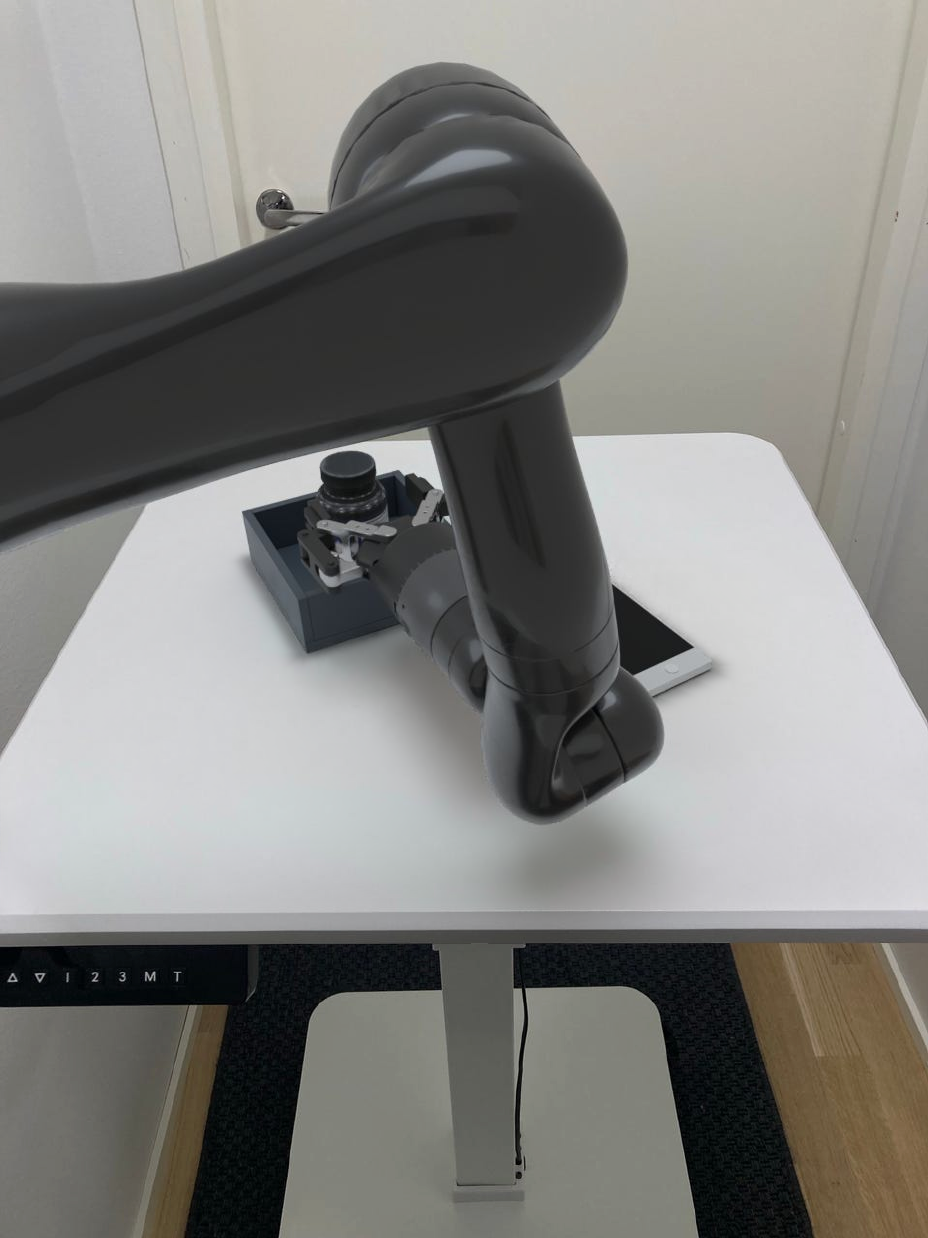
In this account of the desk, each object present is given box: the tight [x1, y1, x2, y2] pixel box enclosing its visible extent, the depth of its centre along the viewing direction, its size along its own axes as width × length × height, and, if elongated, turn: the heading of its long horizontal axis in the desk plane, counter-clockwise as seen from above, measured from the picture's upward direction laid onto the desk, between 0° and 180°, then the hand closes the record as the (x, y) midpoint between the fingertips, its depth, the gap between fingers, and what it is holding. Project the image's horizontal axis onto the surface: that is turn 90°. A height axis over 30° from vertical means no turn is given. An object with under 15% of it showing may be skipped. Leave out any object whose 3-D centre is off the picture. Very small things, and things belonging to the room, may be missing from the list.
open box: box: [241, 469, 451, 654], centre depth 88 cm, size 16×16×6 cm
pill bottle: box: [315, 450, 389, 547], centre depth 85 cm, size 6×6×11 cm
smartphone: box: [611, 580, 713, 697], centre depth 81 cm, size 7×15×1 cm, turn 32°
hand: (361, 496), depth 80 cm, fingers open, 8 cm apart
